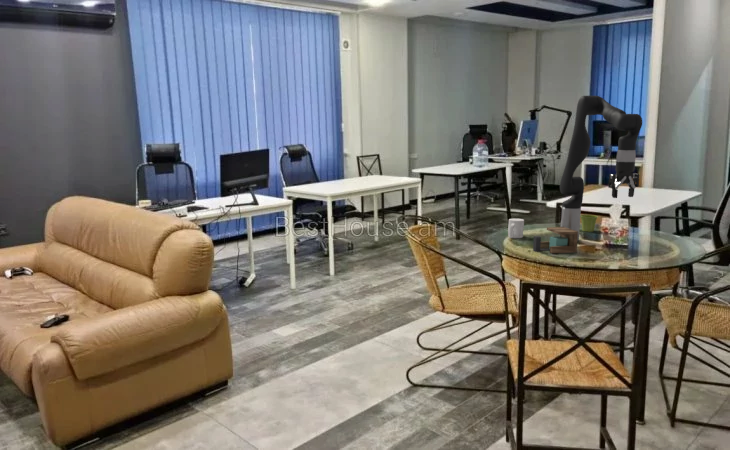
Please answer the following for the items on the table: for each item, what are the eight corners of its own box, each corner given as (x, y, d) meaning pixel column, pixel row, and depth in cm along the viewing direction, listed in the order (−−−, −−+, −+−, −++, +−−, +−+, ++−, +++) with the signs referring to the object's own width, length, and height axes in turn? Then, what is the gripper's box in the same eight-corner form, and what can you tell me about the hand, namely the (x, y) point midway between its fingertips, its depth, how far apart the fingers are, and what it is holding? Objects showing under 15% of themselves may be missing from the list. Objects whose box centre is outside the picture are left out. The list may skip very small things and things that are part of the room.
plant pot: (575, 230, 321) (576, 215, 319) (589, 229, 323) (590, 214, 322) (586, 233, 312) (587, 217, 310) (600, 232, 315) (601, 216, 313)
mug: (512, 217, 307) (526, 219, 303) (511, 234, 309) (525, 235, 305) (504, 220, 298) (519, 222, 293) (503, 238, 299) (518, 239, 295)
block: (531, 249, 271) (532, 235, 270) (560, 248, 274) (561, 234, 272) (537, 252, 265) (538, 238, 264) (567, 251, 268) (567, 236, 267)
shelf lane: (538, 247, 275) (539, 227, 273) (562, 246, 277) (563, 226, 276) (551, 253, 263) (552, 232, 261) (576, 252, 265) (577, 231, 263)
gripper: (632, 159, 249) (629, 195, 252) (606, 160, 245) (603, 197, 248) (645, 160, 242) (642, 197, 245) (618, 161, 238) (615, 199, 241)
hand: (622, 197), depth 246 cm, fingers open, 8 cm apart
